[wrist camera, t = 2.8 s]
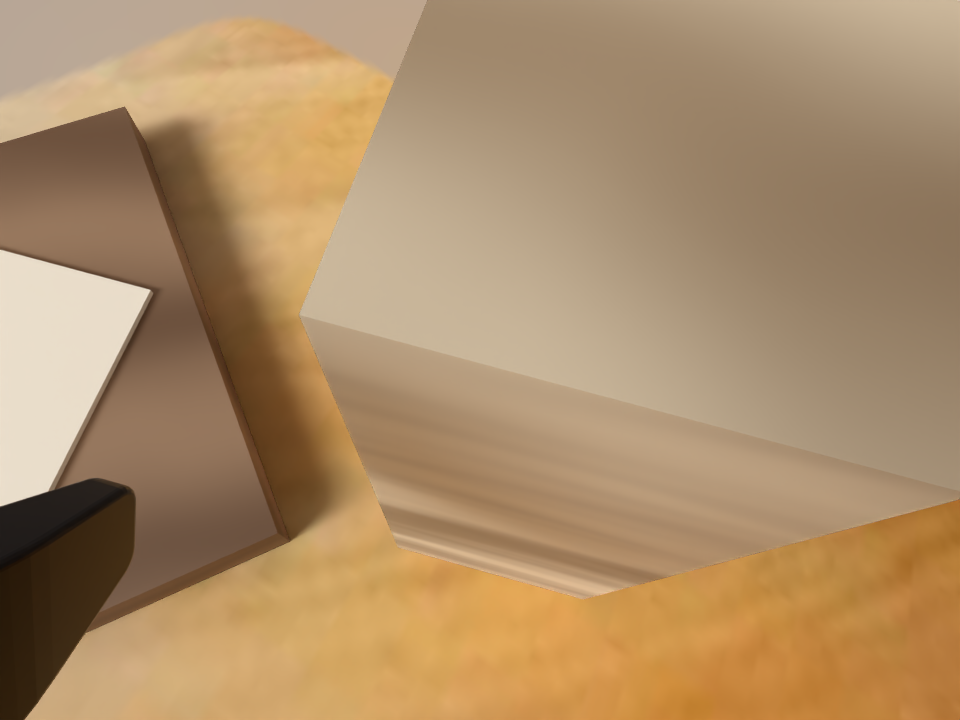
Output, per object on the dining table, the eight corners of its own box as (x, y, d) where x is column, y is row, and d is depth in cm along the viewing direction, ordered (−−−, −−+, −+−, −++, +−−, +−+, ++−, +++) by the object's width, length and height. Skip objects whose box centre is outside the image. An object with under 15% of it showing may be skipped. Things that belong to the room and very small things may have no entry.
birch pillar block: (583, 599, 18) (975, 496, 5) (397, 547, 18) (299, 315, 5) (618, 420, 20) (966, 2, 7) (449, 375, 20) (474, -114, 7)
